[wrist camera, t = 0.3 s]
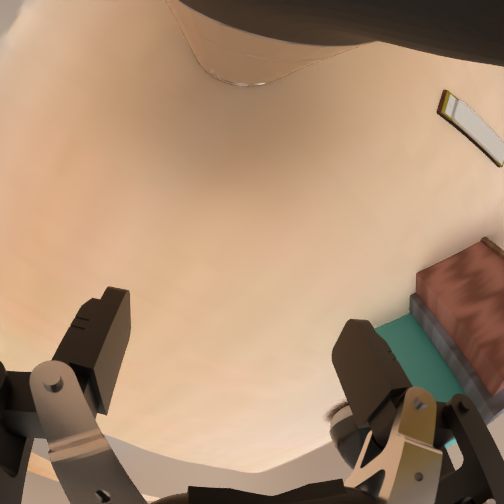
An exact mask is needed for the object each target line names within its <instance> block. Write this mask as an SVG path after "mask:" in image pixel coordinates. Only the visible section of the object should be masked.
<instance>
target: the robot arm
mask: <svg viewBox="0 0 504 504" xmlns="http://www.w3.org/2000/svg"><path fill="white" fill-rule="evenodd" d="M165 1H166V3H167V4H168V6H169V8H170V9H171V11H172V13H173V15H174V17H175V19H176V21H177V22H178V24H179V26H180V28H181V30H182V32H183V34H184V36H185V38H186V39H187V41H188V43H189V45H190V47H191V49H192V51H193V53H194V55H195V57H196V58H197V60H198V62H199V64H200V65H201V66H202V67H203V68H204V69H205V71H206V72H208V73H209V74H210V75H212V76H213V77H215V78H216V79H218V80H221V81H223V82H225V83H228V84H232V85H236V86H248V87H249V86H258V85H263V84H266V83H270V82H272V81H274V80H276V79H279V78H281V77H283V76H286V75H288V74H290V73H292V72H295V71H297V70H299V69H302V68H304V67H306V66H309V65H311V64H314V63H316V62H319V61H321V60H324V59H327V58H329V57H332V56H335V55H337V54H340V53H343V52H345V51H348V50H351V49H354V48H357V47H360V46H363V45H366V44H369V43H372V42H376V41H381V42H386V43H390V44H394V45H398V46H402V47H406V48H410V49H414V50H418V51H422V52H427V53H431V54H435V55H440V56H444V57H450V58H454V59H460V60H466V61H472V62H478V63H485V64H492V65H497V66H504V0H165ZM130 330H131V316H130V292H129V290H125V289H120V288H115V287H107V289H106V290H105V292H104V294H103V296H102V297H101V299H95V298H92V299H90V300H89V301H87V302H86V303H85V304H83V305H82V306H81V308H80V309H79V311H78V313H77V314H76V317H75V318H74V320H73V321H72V323H71V327H69V328H68V330H67V332H66V334H65V336H64V337H63V339H62V341H61V343H60V345H59V347H58V349H57V351H56V353H55V354H54V356H53V358H52V360H51V361H46V362H43V363H41V364H39V365H38V366H36V367H35V368H34V369H33V371H32V372H15V371H6V369H5V367H4V365H3V364H2V362H1V361H0V504H21V501H22V494H23V487H24V482H25V476H26V471H27V467H28V462H29V458H30V453H31V449H32V445H33V441H34V438H44V439H47V442H48V445H49V448H50V451H49V452H48V454H49V458H50V461H51V464H52V466H53V469H54V471H55V473H56V475H57V477H58V480H59V482H60V484H61V486H62V488H63V490H64V492H65V494H66V496H67V498H68V500H69V501H70V503H71V504H148V503H147V502H146V500H145V499H144V498H143V496H142V495H141V494H140V492H139V491H138V490H137V488H136V487H135V485H134V484H133V482H132V481H131V479H130V478H129V476H128V475H127V473H126V472H125V470H124V468H123V467H122V465H121V464H120V462H119V460H118V459H117V457H116V455H115V454H114V452H113V450H112V449H111V447H110V445H109V443H108V442H107V440H106V438H105V436H104V435H103V434H102V432H101V430H100V429H99V427H98V425H97V423H96V421H95V419H96V415H97V413H100V414H104V415H107V413H108V409H109V405H110V402H111V398H112V394H113V391H114V387H115V384H116V380H117V377H118V373H119V370H120V367H121V363H122V360H123V357H124V354H125V351H126V348H127V345H128V341H129V337H130ZM396 359H397V358H396V357H395V355H394V353H392V350H391V348H390V347H389V345H388V343H387V342H386V341H385V340H384V339H383V338H382V337H381V336H380V335H379V334H378V333H376V331H375V330H374V328H373V326H372V325H371V323H370V322H369V321H368V320H358V319H350V320H348V321H347V322H346V324H345V326H344V328H343V330H342V332H341V334H340V336H339V338H338V340H337V342H336V344H335V346H334V348H333V351H332V362H333V365H334V368H335V370H336V373H337V375H338V378H339V380H340V383H341V385H342V388H343V390H344V393H345V396H346V398H347V401H348V403H349V406H350V409H351V411H352V414H353V417H354V419H355V422H356V425H357V427H358V428H365V427H370V428H371V431H370V432H369V433H368V435H367V437H366V440H365V442H364V445H363V448H362V450H361V453H360V456H359V458H358V461H357V463H356V466H355V468H354V470H353V472H352V474H351V475H350V477H349V478H348V479H347V480H346V482H345V483H343V480H342V479H337V480H331V481H325V482H319V483H312V484H308V485H305V486H302V487H300V488H297V489H294V490H291V491H288V492H285V493H282V494H279V495H275V496H267V495H260V494H255V493H249V492H244V491H240V490H234V489H231V488H207V487H194V486H189V487H188V492H187V493H182V494H176V495H171V496H168V497H165V498H161V499H159V500H157V501H155V502H152V503H151V504H504V460H503V458H502V456H501V454H500V452H499V450H498V448H497V446H496V444H495V442H494V440H493V438H492V436H491V434H490V432H489V430H488V428H487V426H486V424H485V423H484V421H483V419H482V417H481V415H480V413H479V412H478V410H477V408H476V406H475V405H474V403H473V401H472V400H471V399H470V398H469V397H467V396H466V395H464V394H460V393H458V394H455V395H454V396H453V397H452V398H451V399H450V400H449V401H448V402H439V401H435V399H434V397H433V396H432V395H431V394H430V393H429V392H428V391H427V390H425V389H423V388H421V387H413V386H412V384H411V382H410V380H409V379H408V377H407V375H406V373H405V372H404V370H403V368H402V367H401V365H400V363H399V362H398V360H396ZM454 437H455V439H456V441H457V443H458V446H459V448H460V450H461V452H462V455H463V458H464V461H463V464H462V466H461V467H460V468H459V469H458V470H456V471H455V469H454V467H453V464H452V462H451V459H450V457H449V455H448V452H447V450H446V448H445V445H446V444H447V443H448V442H449V441H450V440H451V439H453V438H454Z"/></svg>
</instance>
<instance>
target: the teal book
mask: <svg viewBox="0 0 504 504" xmlns="http://www.w3.org/2000/svg"><path fill="white" fill-rule="evenodd" d="M374 330H375V331H376V333H378V334H379V335H380V336H381V337H382V338H383V339H384V340H385V341H386V342H387V343H388V345H389V347H390V348H391V350H392V353H394V355H395V357H396V358H397V359H396V360H398V362H399V363H400V365H401V367H402V368H403V370H404V372H405V373H406V375H407V377H408V379H409V380H410V382H411V384H412V386H413V387H421V388H423V389H425V390H427V391H428V392H429V393H430V394H431V395H432V396H433V397H434V399H435V401H439V402H448V401H449V400H450V399H451V398H452V397H453V396H454V395H455V394H458V393H460V394H464V395H466V393H465V392H464V390H463V388H462V387H461V385H460V384H459V382H458V380H457V379H456V377H455V376H454V374H453V373H452V371H451V369H450V368H449V366H448V365H447V363H446V362H445V360H444V359H443V357H442V356H441V354H440V353H439V351H438V350H437V349H436V347H435V346H434V344H433V343H432V341H431V340H430V338H429V337H428V336H427V334H426V333H425V331H424V330H423V329H422V327H421V326H420V324H419V323H418V322H417V320H416V319H415V318H414V316H413V315H412V314H411V313H409V314H407V315H405V316H403V317H401V318H398V319H396V320H394V321H392V322H390V323H387V324H385V325H383V326H381V327H378V328H376V329H374ZM466 396H467V395H466ZM456 442H457V441H456V439H455V437H454V438H453V439H451V440H450V441H449V442H448V443H447V444H446V445H445V448H448V447H449V446H451V445H453V444H455V443H456Z"/></svg>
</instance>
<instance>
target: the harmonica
mask: <svg viewBox="0 0 504 504" xmlns="http://www.w3.org/2000/svg"><path fill="white" fill-rule="evenodd" d="M437 114H439V115H440V116H441V117H442V118H444V119H445V120H446V121H448V122H449V123H450V124H451V125H453V126H454V127H455V128H456V129H457V130H459V131H460V132H461V133H462V134H463V135H464V136H466V137H467V138H468V139H469V140H470V141H471V142H472V143H474V144H475V145H476V146H477V147H478V148H479V149H480V150H481V151H482V152H483V153H484V154H485V155H486V156H487V157H488V158H489V159H491V160H492V161H493V162H494V163H495V164H496V165H497V166H498V167H499V168H500V167H503V164H504V142H503V141H502V140H501V139H500V138H499V136H498V135H497V134H496V133H495V132H494V131H493V130H492V129H491V128H490V127H489V126H488V125H487V124H486V123H485V122H484V121H483V120H482V119H481V118H480V117H479V116H478V115H477V114H476V113H475V112H474V111H473V110H472V109H471V108H470V107H469V106H468V105H467V104H466V103H464V102H463V101H462V100H458V99H457V98H456V97H455V96H454V95H453V94H451V93H450V92H449V91H448V90H443V93H442V96H441V99H440V103H439V106H438V109H437Z"/></svg>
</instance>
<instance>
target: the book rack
mask: <svg viewBox="0 0 504 504" xmlns="http://www.w3.org/2000/svg"><path fill="white" fill-rule="evenodd" d="M410 312H411V314H412V315H413V316H414V318H415V319H416V320H417V322H418V323H419V324H420V326H421V327H422V329H423V330H424V331H425V333H426V334H427V336H428V337H429V338H430V340H431V341H432V343H433V344H434V346H435V347H436V349H437V350H438V351H439V353H440V354H441V356H442V357H443V359H444V360H445V362H446V363H447V365H448V366H449V368H450V369H451V371H452V373H453V374H454V376H455V377H456V379H457V380H458V382H459V384H460V385H461V387H462V388H463V390H464V392H465V393H466V395H467V397H469V398H470V399H471V400H472V401H473V403H474V405H475V406H476V408H477V410H478V412H479V413H480V415H481V417H482V419H483V421H484V423H485V424H486V426H487V425H488V424H489V423H491V422H492V421H493V420H494V419H496V418H497V417H498V416H499V415H501V414H502V413H503V412H504V251H503V250H502V249H501V248H500V247H498V246H497V245H496V244H494V243H493V242H492V241H490V240H489V239H488V238H486V237H484V238H482V239H481V242H479V243H477V244H475V245H473V246H471V247H469V248H467V249H465V250H464V251H462V252H460V253H458V254H456V255H454V256H452V257H450V258H448V259H446V260H444V261H442V262H440V263H438V264H436V265H433V266H431V267H429V268H427V269H425V270H423V271H421V272H419V273H417V276H416V293H415V294H413V295H411V296H410Z"/></svg>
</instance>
